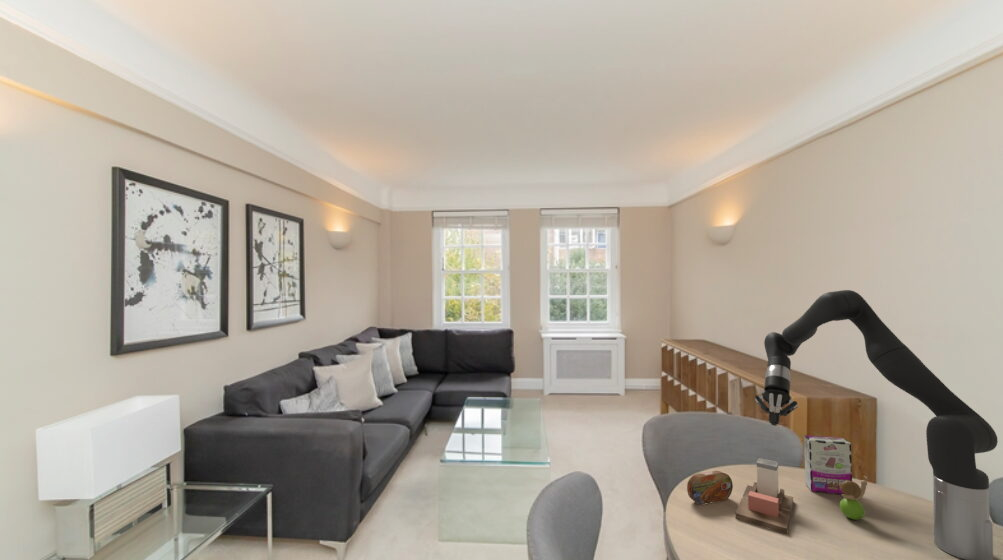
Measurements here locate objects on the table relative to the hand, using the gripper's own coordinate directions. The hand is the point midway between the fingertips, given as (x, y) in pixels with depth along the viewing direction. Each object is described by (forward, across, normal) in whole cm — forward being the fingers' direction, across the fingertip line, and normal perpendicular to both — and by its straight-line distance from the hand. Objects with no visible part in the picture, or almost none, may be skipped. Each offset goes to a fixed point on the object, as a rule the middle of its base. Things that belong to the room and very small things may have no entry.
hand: (773, 424), depth 139 cm
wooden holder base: (+30, 0, -4) cm, 30 cm away
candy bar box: (+12, +14, +14) cm, 23 cm away
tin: (+33, -14, -7) cm, 36 cm away
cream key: (+24, 0, -1) cm, 24 cm away
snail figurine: (+23, +20, +3) cm, 31 cm away
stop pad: (+32, 0, -8) cm, 33 cm away
